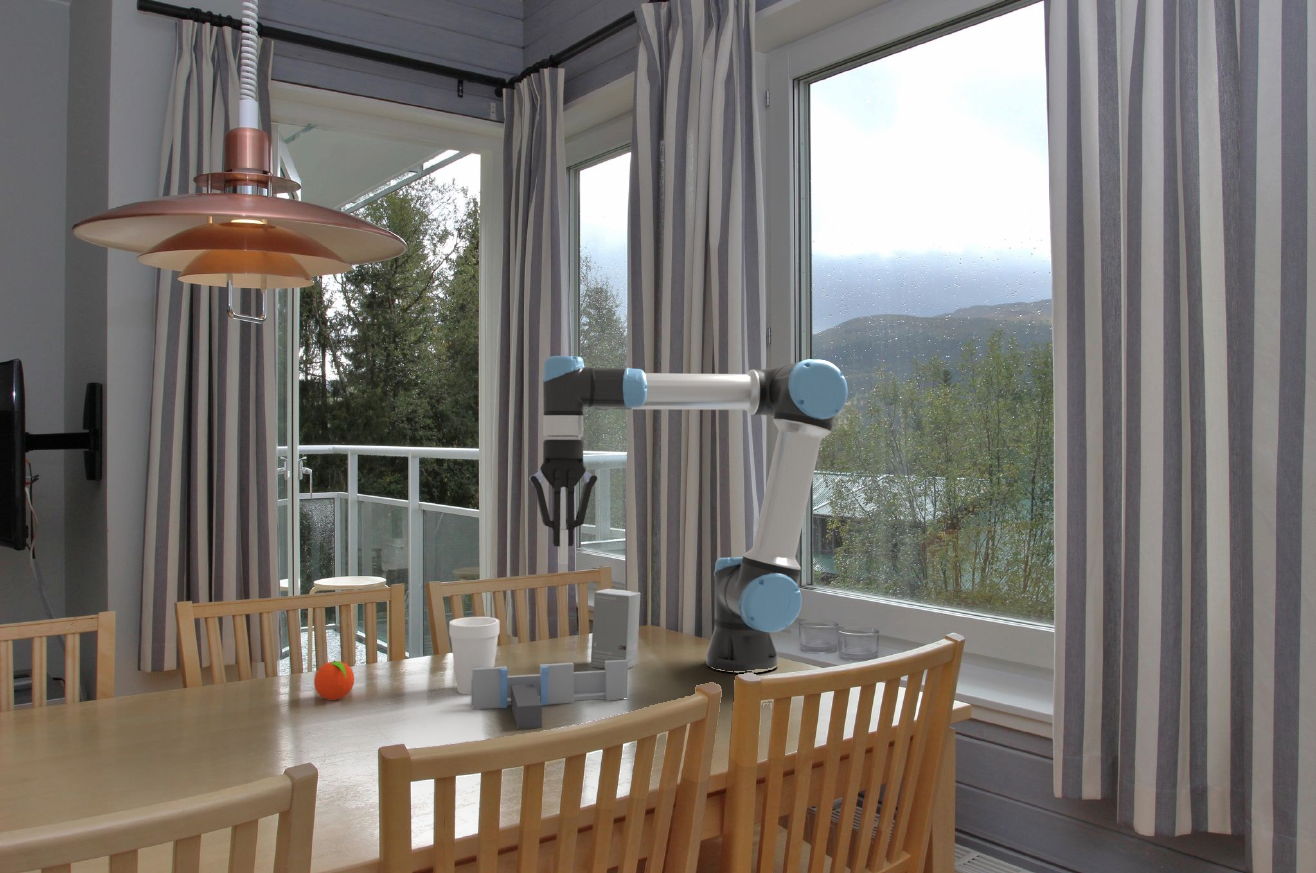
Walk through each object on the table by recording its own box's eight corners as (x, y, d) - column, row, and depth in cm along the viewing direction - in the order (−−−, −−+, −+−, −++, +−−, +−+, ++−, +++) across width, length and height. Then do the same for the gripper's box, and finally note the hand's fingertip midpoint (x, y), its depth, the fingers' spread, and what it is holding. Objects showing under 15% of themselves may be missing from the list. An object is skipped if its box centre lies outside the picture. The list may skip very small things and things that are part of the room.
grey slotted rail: (622, 693, 177) (622, 655, 177) (628, 700, 172) (629, 662, 172) (471, 702, 170) (471, 664, 170) (473, 711, 165) (473, 671, 165)
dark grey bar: (533, 706, 169) (533, 683, 169) (542, 728, 156) (542, 704, 156) (511, 707, 168) (511, 685, 168) (517, 730, 155) (517, 706, 155)
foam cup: (487, 697, 173) (487, 627, 173) (440, 694, 175) (441, 625, 175) (506, 684, 183) (506, 617, 182) (461, 681, 184) (461, 615, 184)
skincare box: (590, 667, 196) (590, 592, 196) (604, 660, 203) (605, 587, 203) (627, 671, 193) (627, 594, 193) (640, 664, 200) (641, 589, 200)
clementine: (364, 700, 171) (364, 661, 171) (328, 708, 166) (328, 668, 166) (342, 691, 177) (342, 654, 177) (307, 699, 172) (307, 660, 172)
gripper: (593, 438, 182) (593, 560, 182) (526, 438, 179) (526, 562, 179) (601, 438, 175) (600, 565, 175) (531, 438, 172) (530, 567, 172)
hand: (563, 563), depth 177 cm, fingers closed
